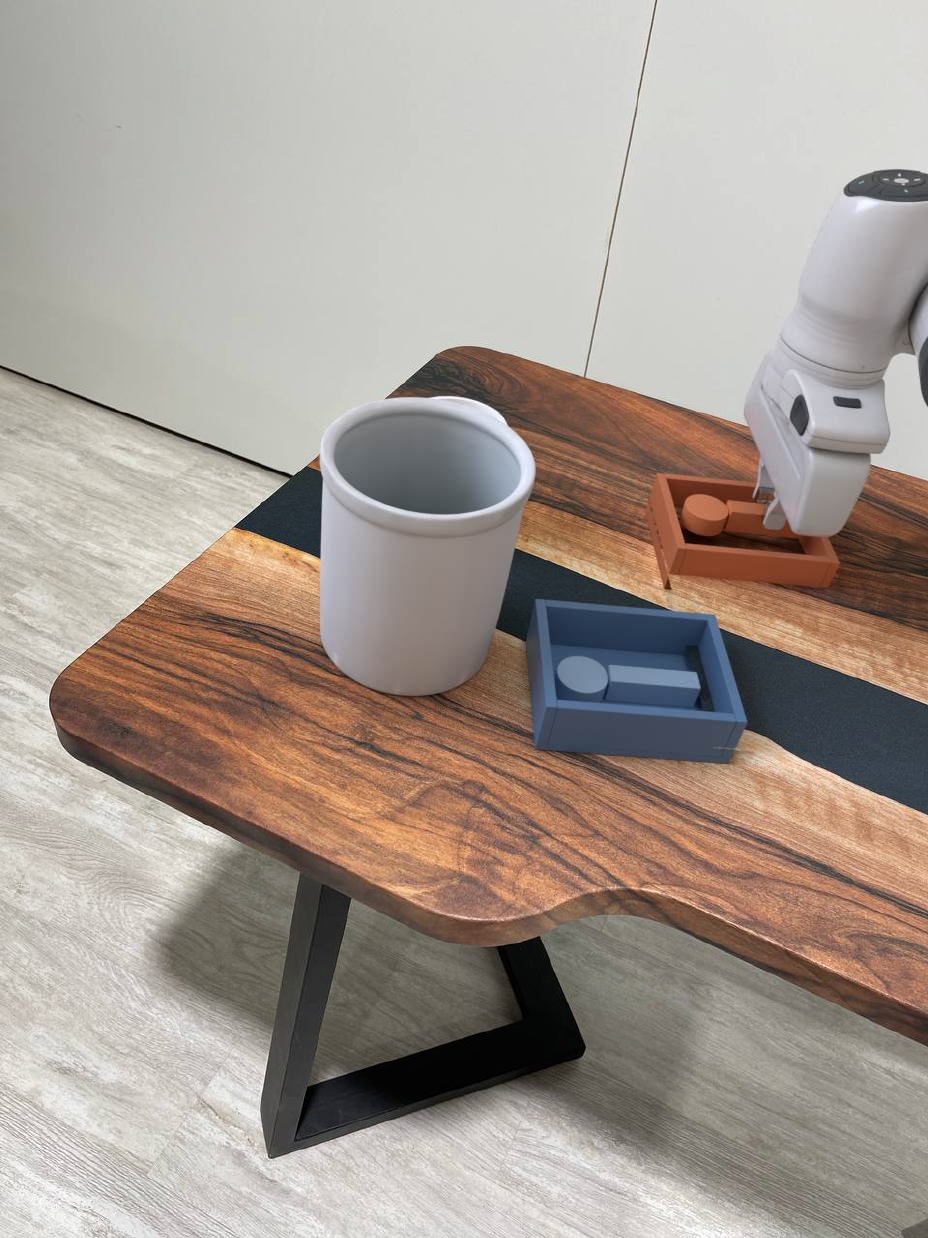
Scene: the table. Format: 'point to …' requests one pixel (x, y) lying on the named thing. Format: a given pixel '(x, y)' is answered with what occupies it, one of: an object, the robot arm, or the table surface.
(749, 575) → the bin terracotta
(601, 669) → the spoon blue
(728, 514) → the spoon terracotta
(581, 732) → the bin blue
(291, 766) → the table surface
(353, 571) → the utensil holder
